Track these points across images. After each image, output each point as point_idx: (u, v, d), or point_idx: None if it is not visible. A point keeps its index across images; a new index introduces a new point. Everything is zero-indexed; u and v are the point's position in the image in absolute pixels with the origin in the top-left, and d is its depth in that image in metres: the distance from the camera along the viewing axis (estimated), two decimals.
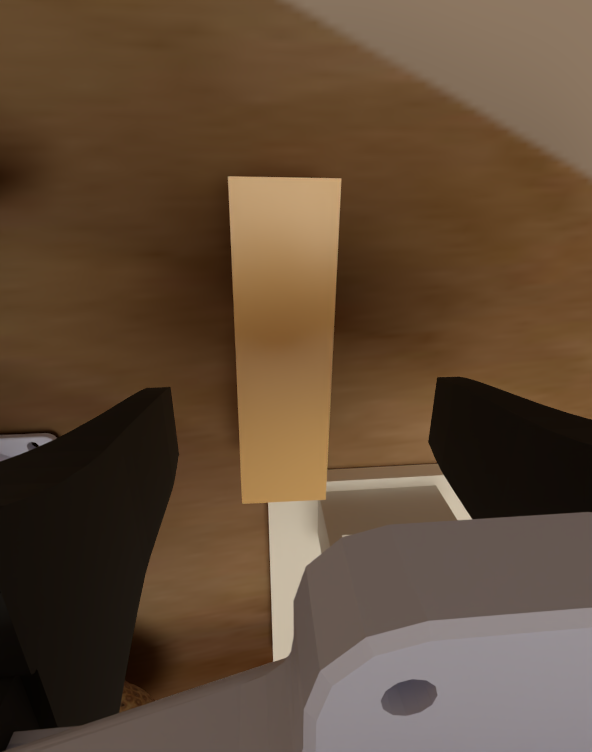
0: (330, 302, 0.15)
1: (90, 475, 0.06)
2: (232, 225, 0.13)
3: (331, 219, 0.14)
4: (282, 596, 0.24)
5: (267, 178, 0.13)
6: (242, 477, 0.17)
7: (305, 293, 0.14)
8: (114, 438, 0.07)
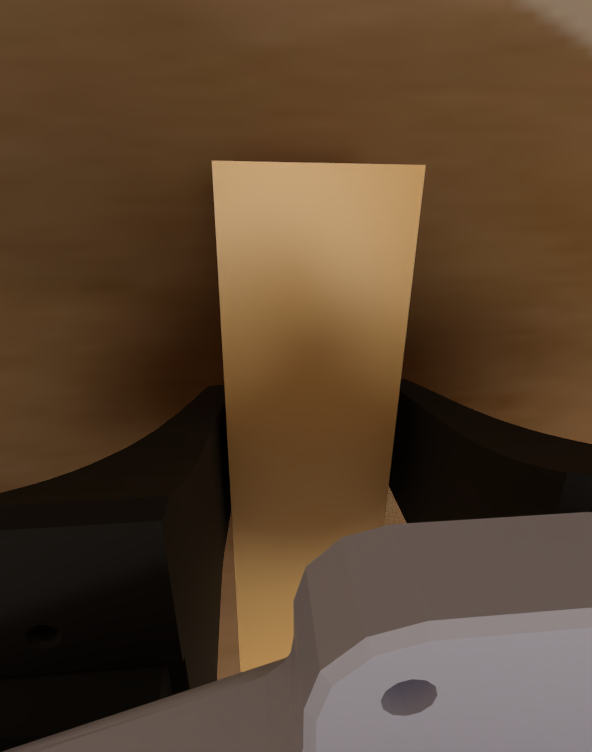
0: (392, 381, 0.08)
1: (200, 469, 0.06)
2: (221, 252, 0.07)
3: (402, 241, 0.07)
4: None
5: (287, 164, 0.07)
6: (240, 638, 0.11)
7: (350, 368, 0.08)
8: (206, 434, 0.08)
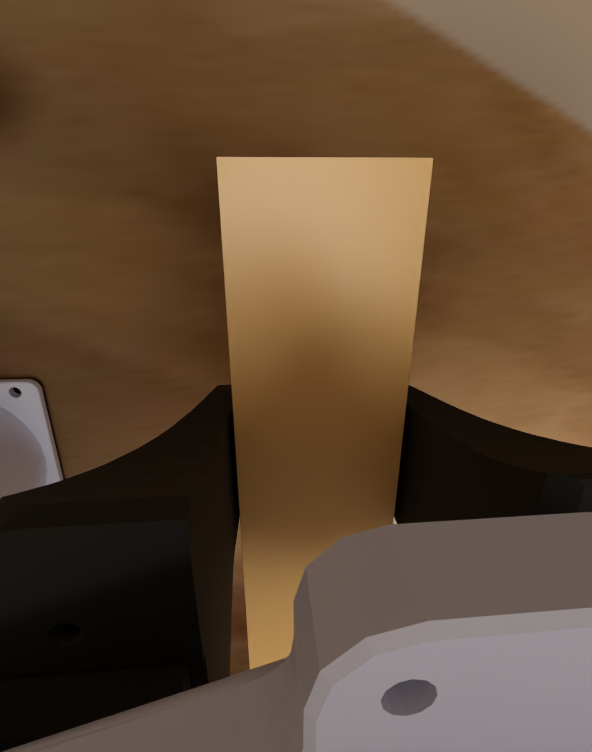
0: (400, 378, 0.08)
1: (215, 468, 0.06)
2: (226, 250, 0.07)
3: (410, 235, 0.07)
4: None
5: (292, 160, 0.07)
6: (250, 638, 0.11)
7: (357, 365, 0.08)
8: (219, 433, 0.08)
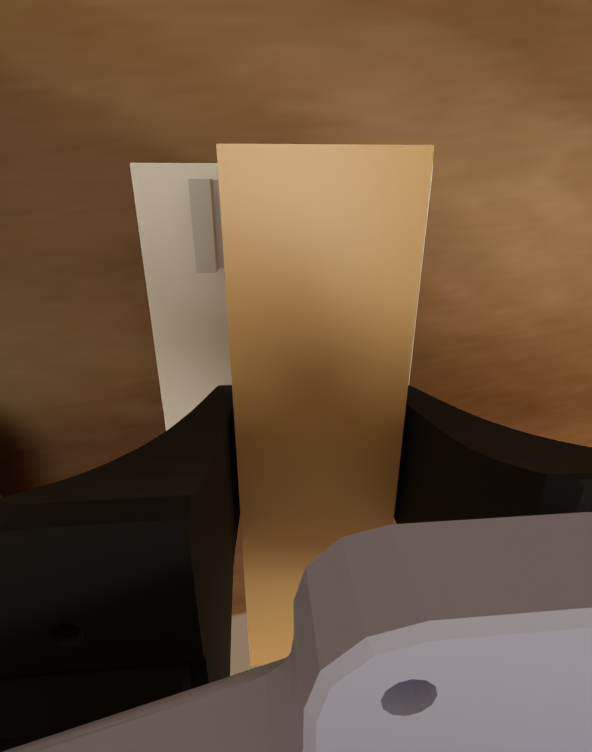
0: (401, 369, 0.08)
1: (215, 469, 0.06)
2: (226, 238, 0.07)
3: (411, 224, 0.07)
4: (171, 362, 0.18)
5: (292, 146, 0.07)
6: (250, 632, 0.11)
7: (358, 356, 0.08)
8: (219, 433, 0.08)
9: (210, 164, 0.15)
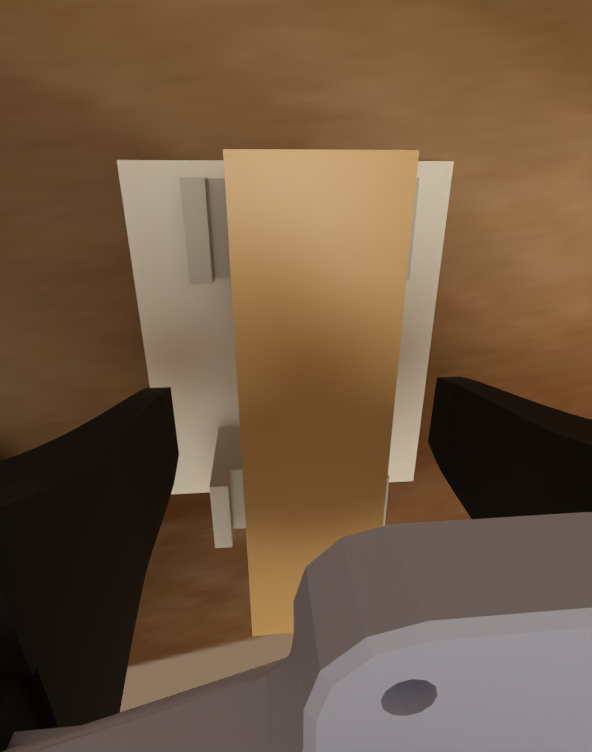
0: (391, 354, 0.09)
1: (91, 475, 0.06)
2: (232, 234, 0.08)
3: (399, 221, 0.08)
4: (165, 378, 0.17)
5: (291, 152, 0.07)
6: (252, 603, 0.12)
7: (352, 342, 0.09)
8: (114, 438, 0.07)
9: (206, 161, 0.14)
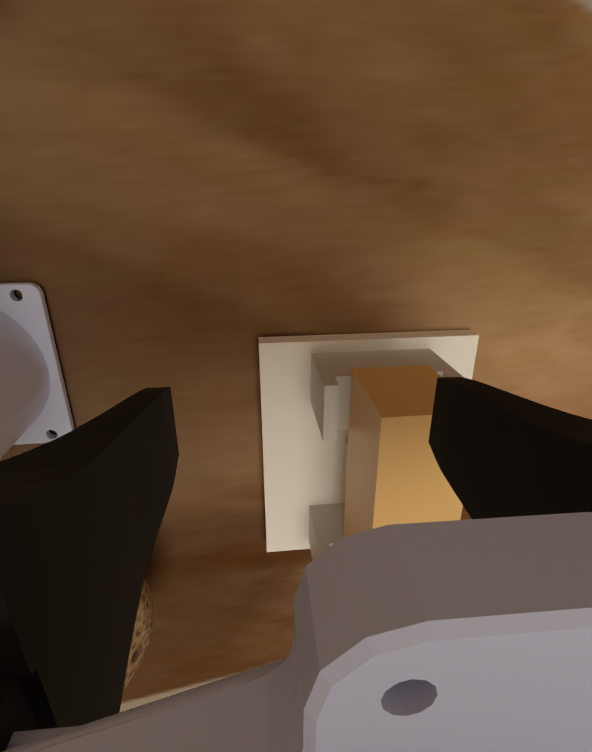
0: (459, 503, 0.16)
1: (90, 475, 0.06)
2: (380, 452, 0.15)
3: None
4: (275, 474, 0.24)
5: (415, 416, 0.15)
6: None
7: (438, 498, 0.16)
8: (114, 438, 0.07)
9: (317, 342, 0.21)
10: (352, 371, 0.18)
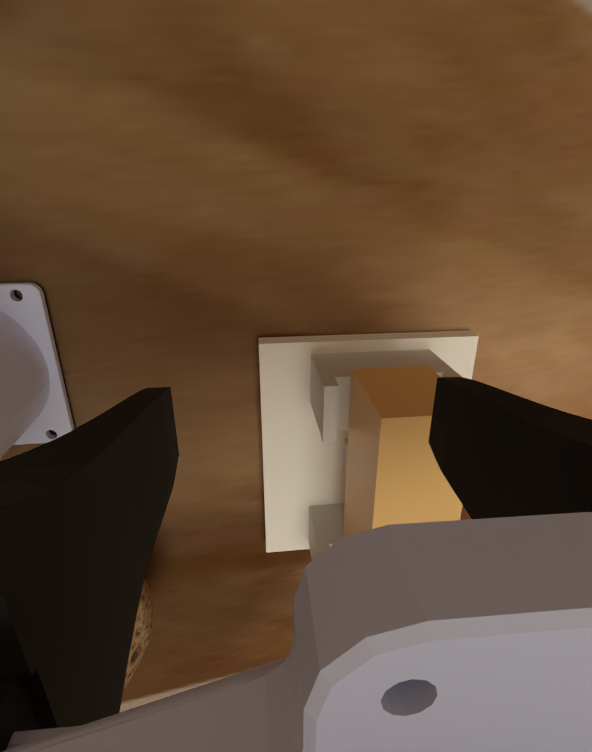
0: (458, 504, 0.16)
1: (90, 475, 0.06)
2: (380, 453, 0.15)
3: None
4: (275, 475, 0.24)
5: (414, 417, 0.15)
6: None
7: (437, 499, 0.16)
8: (114, 438, 0.07)
9: (317, 342, 0.21)
10: (352, 372, 0.18)
